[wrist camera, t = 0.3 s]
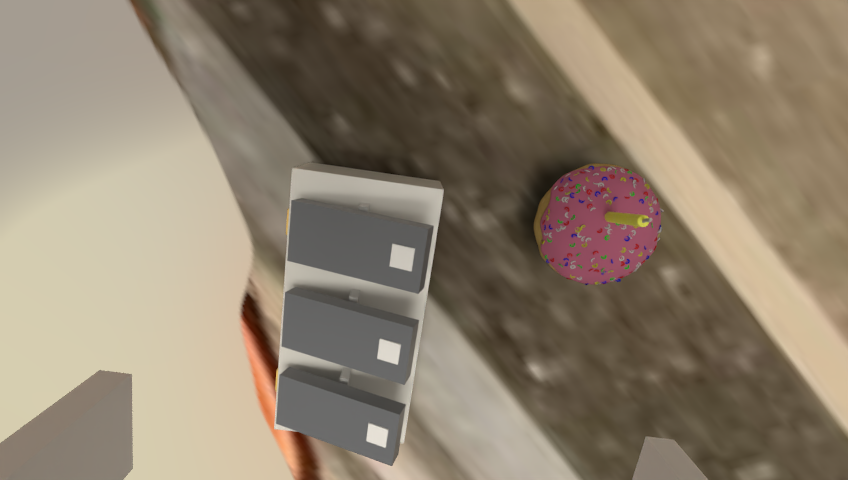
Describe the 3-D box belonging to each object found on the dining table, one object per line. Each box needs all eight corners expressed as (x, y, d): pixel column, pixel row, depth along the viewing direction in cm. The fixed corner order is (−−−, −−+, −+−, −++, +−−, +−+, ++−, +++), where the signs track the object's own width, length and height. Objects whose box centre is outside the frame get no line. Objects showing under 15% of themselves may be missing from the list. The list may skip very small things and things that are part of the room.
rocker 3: (289, 366, 30) (278, 375, 29) (405, 404, 28) (399, 415, 27) (285, 413, 31) (275, 424, 30) (398, 454, 29) (391, 467, 28)
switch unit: (306, 161, 32) (280, 169, 26) (439, 181, 33) (445, 192, 27) (289, 389, 37) (264, 441, 31) (405, 403, 38) (403, 456, 31)
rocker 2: (295, 286, 29) (284, 292, 28) (419, 320, 27) (412, 328, 25) (291, 339, 30) (280, 347, 29) (410, 375, 28) (403, 385, 26)
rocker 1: (302, 198, 27) (290, 200, 26) (434, 225, 25) (427, 229, 24) (297, 256, 28) (286, 261, 27) (424, 287, 26) (417, 294, 25)
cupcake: (508, 178, 33) (559, 204, 21) (615, 144, 32) (728, 151, 21) (535, 277, 35) (594, 350, 23) (636, 246, 34) (748, 305, 23)
